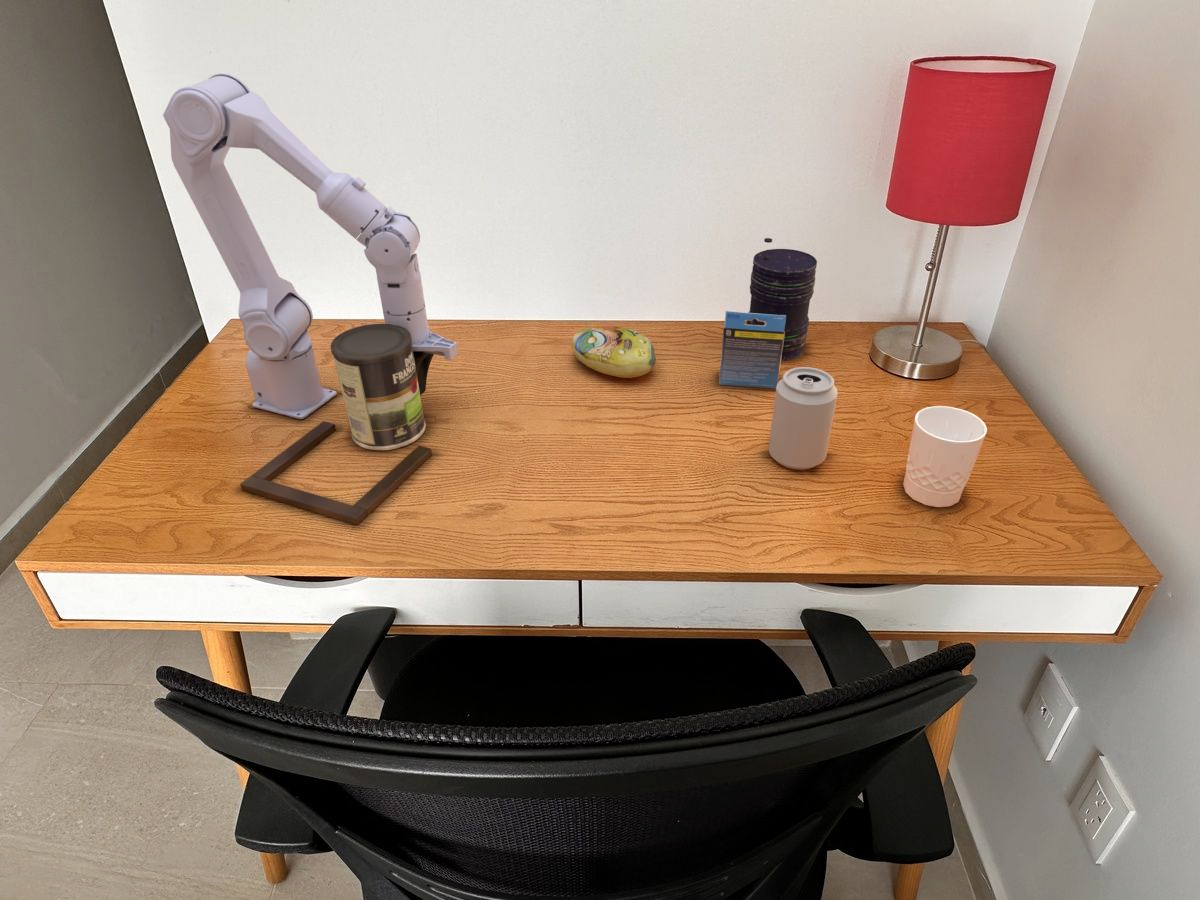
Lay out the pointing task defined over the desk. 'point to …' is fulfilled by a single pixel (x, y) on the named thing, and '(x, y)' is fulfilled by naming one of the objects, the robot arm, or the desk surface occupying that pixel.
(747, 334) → the label tape box
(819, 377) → the can
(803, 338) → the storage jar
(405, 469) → the walnut frame
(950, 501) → the white cup
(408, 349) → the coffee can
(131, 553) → the desk surface
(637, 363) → the cell model
